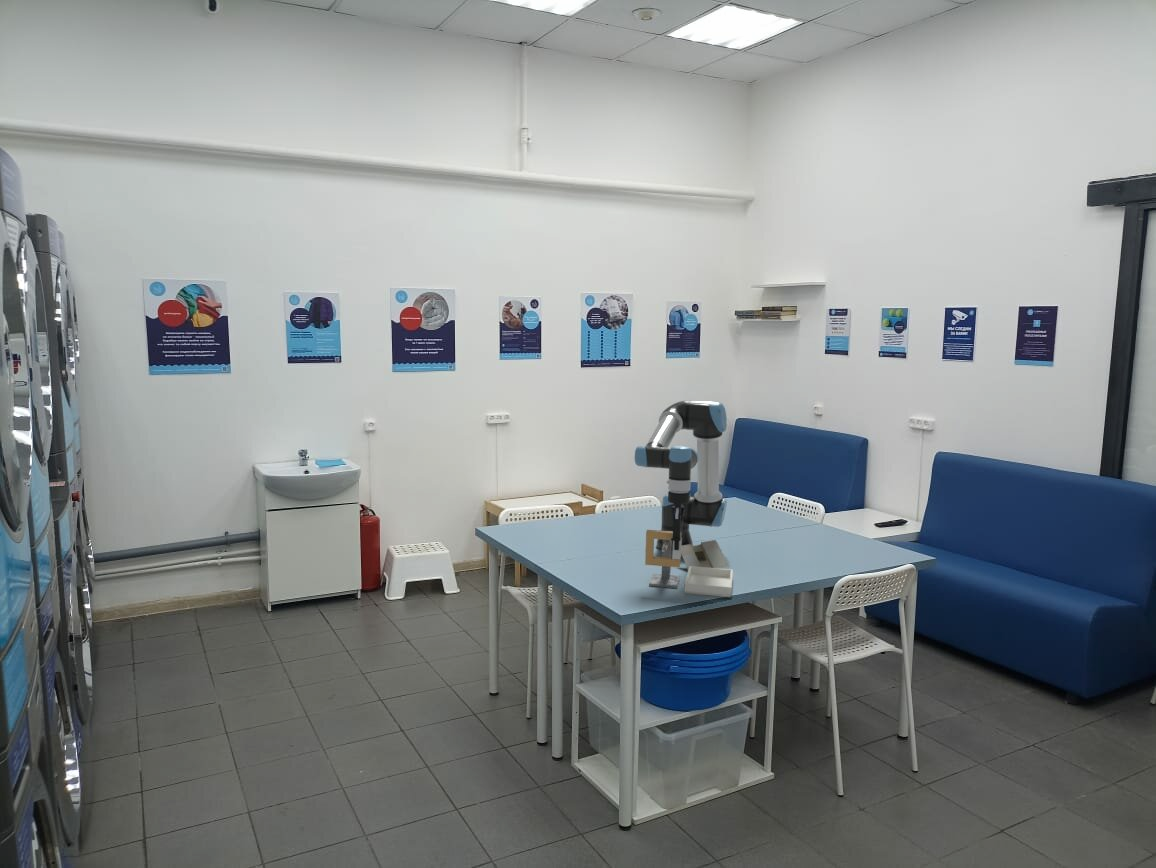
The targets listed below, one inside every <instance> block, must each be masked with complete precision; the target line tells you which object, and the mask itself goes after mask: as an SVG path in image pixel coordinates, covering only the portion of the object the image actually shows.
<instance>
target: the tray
mask: <svg viewBox="0 0 1156 868" xmlns="http://www.w3.org/2000/svg"><path fill="white" fill-rule="evenodd" d="M733 577H734V569H730V568H707V567H694V566H689V570H688V569H687V575H686V578H685V582H684V594H687V595H698V596H709V597H710V596H713V597H721V598H722V597H723V598H732V594H733V593H732V592H733V591H732V590H733V580H734V579H733Z"/></svg>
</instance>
